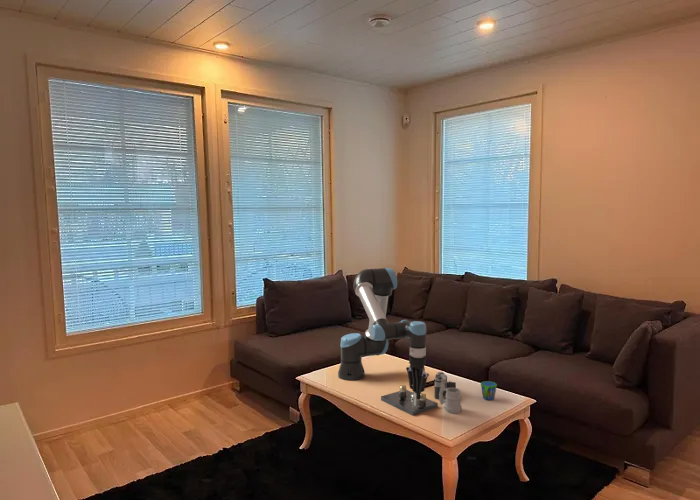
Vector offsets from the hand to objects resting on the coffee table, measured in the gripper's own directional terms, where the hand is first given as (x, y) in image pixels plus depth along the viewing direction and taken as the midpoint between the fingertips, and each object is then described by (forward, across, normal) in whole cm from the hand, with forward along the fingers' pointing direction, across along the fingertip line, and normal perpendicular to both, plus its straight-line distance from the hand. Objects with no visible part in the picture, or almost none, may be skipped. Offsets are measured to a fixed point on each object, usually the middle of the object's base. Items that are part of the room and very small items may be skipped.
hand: (416, 405), depth 232 cm
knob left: (+2, -16, +6) cm, 17 cm away
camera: (+4, -8, +27) cm, 28 cm away
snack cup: (+3, +9, +40) cm, 41 cm away
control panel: (+3, -9, +4) cm, 11 cm away
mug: (+3, +7, +14) cm, 16 cm away
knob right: (+1, -2, +6) cm, 6 cm away
